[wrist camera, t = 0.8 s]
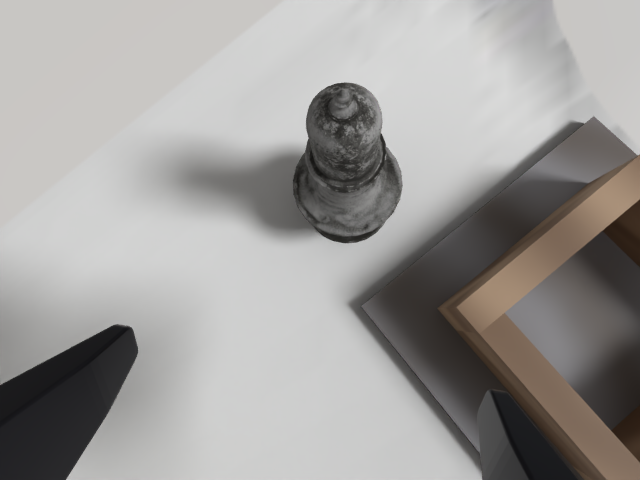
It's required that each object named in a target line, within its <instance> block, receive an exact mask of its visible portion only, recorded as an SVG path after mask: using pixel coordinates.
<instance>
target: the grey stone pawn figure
mask: <svg viewBox="0 0 640 480" xmlns="http://www.w3.org/2000/svg"><path fill="white" fill-rule="evenodd" d="M381 128H382V113H381V109H380V107H379V104H378V101H377V100H376V98H375V97H374V96H373V94H372V93H371V92H370V91H368V90H367V89H366V88H364V87H362V86H360V85H357V84H353V83H337V84H334V85H331V86H328V87H326V88H325V89H323V90H322V91H320V92H319V93H318V94H317V95H316V96H315V98H314V99H313V100H312V102H311V104H310V106H309V109H308V113H307V118H306V129H307V133H308V137H309V139H308V141H307V146H306V150H305V153H304V154H303V156H302V158H301V159H300V161H299V163H298V165H297V167H296V170H295V175H294V179H293V190H294V196H295V199H296V203H297V206H298V208H299V209H300V211H301V212H302V214H303V215H304V217H305V218H306V219H307V220H308V221H309V222H310V223H311V224H312V225H314V227H315V228H316V229H317V230H318V231H319V232H320V233H321V234H322V235H323V236H325V237H327V238H329V239H331V240H333V241H337V242H342V243H355V242H359V241H362V240H365V239H368V238H369V237H371V236H372V235H374V234H375V233H376V232H377V231H378V230H379V229H380V228H381V227H382V226H383V225H384V223H385V221H386V220H387V219H388V218H389V217H390V216H391V215H392V213H393V212H394V210H395V208H396V206H397V204H398V202H399V200H400V196H401V191H402V175H401V170H400V168H399V165H398V163H397V160H396V158H395V157H394V156H393V154H392V153H391V152H390V150H389V149H388V148H387V147H386V144H385V141H384V138H383V136H382V134H381Z"/></svg>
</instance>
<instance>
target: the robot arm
mask: <svg viewBox="0 0 640 480" xmlns="http://www.w3.org/2000/svg"><path fill="white" fill-rule="evenodd" d="M137 354H138V346H137V343H136V339H135V335H134V331H133V329H132V328H131V327H129V326H125V325H118V324H117V325H113V326H111V327H109V328H107V329H105V330H103V331H101V332H100V333H98V334H96V335H94V336H92V337H90V338H88V339H86V340H84V341H83V342H81V343H79V344H77V345H75V346H73V347H71V348H69V349H67V350H66V351H64V352H62V353H60V354H58V355H56V356H54V357H52V358H51V359H49V360H47V361H45V362H43V363H41V364H39V365H37V366H35V367H34V368H32V369H30V370H28V371H26V372H24V373H22V374H20V375H18V376H17V377H15V378H13V379H11V380H9V381H7V382H5V383H3V384H1V385H0V480H66V479H67V477H68V475H69V474H70V472H71V471H72V469H73V468H74V466H75V464H76V463H77V461H78V460H79V458H80V457H81V455H82V453H83V452H84V450H85V449H86V447H87V445H88V444H89V442H90V441H91V439H92V438H93V436H94V434H95V433H96V431H97V430H98V428H99V427H100V425H101V423H102V422H103V420H104V419H105V417H106V415H107V414H108V412H109V410H110V408H111V406H112V405H113V403H114V401H115V399H116V397H117V395H118V393H119V391H120V389H121V387H122V385H123V383H124V381H125V379H126V377H127V375H128V373H129V371H130V369H131V367H132V365H133V363H134V361H135V359H136V357H137ZM477 420H478V433H479V444H480V456H481V468H482V479H483V480H579V479H578V478H577V477H576V476H575V475H574V473H573V472H572V471H571V470H570V468H569V467H568V466H567V465H566V463H565V462H564V461H563V460H562V458H561V457H560V456H559V455H558V454H557V452H556V451H555V450H554V449H553V447H552V446H551V445H550V444H549V442H548V441H547V440H546V439H545V437H544V436H543V435H542V434H541V433H540V431H539V430H538V429H537V428H536V426H535V425H534V424H533V423H532V421H531V420H530V419H529V418H528V417H527V415H526V414H525V413H524V412H523V410H522V409H521V408H520V407H519V405H518V404H517V403H516V402H515V400H514V399H513V398H512V397H511V396H510V394H508V393H507V392H505V391H500V390H495V389H489V390H488V391H487V392H486V394H485V396H484V398H483V401H482V403H481V405H480V408H479V410H478V416H477Z"/></svg>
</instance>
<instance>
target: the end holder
mask: <svg viewBox="0 0 640 480" xmlns="http://www.w3.org/2000/svg"><path fill="white" fill-rule="evenodd" d="M361 307H362V308H363V310H364V311H365V312H366V313H367V315H368V316H369V317H370V318H371V320H372V321H373V322H374V323H375V324H376V326H377V327H378V328H379V329H380V331H381V332H382V333H383V334H384V336H385V337H386V338H387V339H388V341H389V342H390V343H391V344H392V346H393V347H394V348H395V349H396V351H397V352H398V353H399V354H400V355H401V357H402V358H403V359H404V360H405V362H406V363H407V364H408V365H409V367H410V368H411V369H412V370H413V372H414V373H415V374H416V375H417V377H418V378H419V379H420V380H421V381H422V383H423V384H424V385H425V386H426V388H427V389H428V390H429V391H430V393H431V394H432V395H433V396H434V398H435V399H436V400H437V401H438V403H439V404H440V405H441V406H442V408H443V409H444V410H445V411H446V412H447V414H448V415H449V416H450V417H451V419H452V420H453V421H454V422H455V424H456V425H457V426H458V427H459V429H460V430H461V431H462V432H463V434H464V435H465V436H466V437H467V439H468V440H469V441H470V442H471V443H472V445H473V446H474V447H475V448H476V450H477V451H478V452H479V453H480V444H479V433H478V420H477V416H478V410H479V408H480V405H481V403H482V401H483V398H484V396H485V394H486V392H487V391H488V390H489V389H495V390H500V391H505V392H507V393H508V394H510V396H511V397H512V398H513V399H514V400H515V402H516V403H517V404H518V405H519V407H520V408H521V409H522V410H523V412H524V413H525V414H526V415H527V417H528V418H529V419H530V420H531V421H532V423H533V424H534V425H535V426H536V428H537V429H538V430H539V431H540V433H541V434H542V435H543V436H544V437H545V439H546V440H547V441H548V442H549V444H550V445H551V446H552V447H553V449H554V450H555V451H556V452H557V454H558V455H559V456H560V457H561V458H562V460H563V461H564V462H565V463H566V465H567V466H568V467H569V468H570V470H571V471H572V472H573V473H574V475H575V476H576V477H577V478H578V479H579V480H640V155H636V154H635V153H634V152H633V151H632V150H631V149H630V148H629V147H627V146H626V145H625V144H624V143H623V142H622V141H621V140H620V139H619V138H617V137H616V136H615V135H614V134H613V133H612V132H611V131H610V130H609V129H607V128H606V127H605V126H604V125H603V124H602V123H601V122H600V121H598V120H597V119H596V118H595V117H592V118H591V119H590V120H589V121H587V122H586V123H585V124H584V125H583V126H581V127H580V128H579V129H578V130H576V131H575V132H574V133H573V134H572V135H570V136H569V137H568V138H567V139H565V140H564V141H563V142H562V143H561V144H559V145H558V146H557V147H556V148H554V149H553V150H552V151H551V152H549V153H548V154H547V155H546V156H545V157H543V158H542V159H541V160H540V161H538V162H537V163H536V164H535V165H534V166H532V167H531V168H530V169H529V170H527V171H526V172H525V173H524V174H523V175H521V176H520V177H519V178H518V179H516V180H515V181H514V182H513V183H511V184H510V185H509V186H508V187H507V188H505V189H504V190H503V191H502V192H500V193H499V194H498V195H497V196H496V197H494V198H493V199H492V200H491V201H489V202H488V203H487V204H486V205H485V206H483V207H482V208H481V209H480V210H478V211H477V212H476V213H475V214H473V215H472V216H471V217H470V218H469V219H467V220H466V221H465V222H464V223H462V224H461V225H460V226H459V227H458V228H456V229H455V230H454V231H453V232H451V233H450V234H449V235H448V236H447V237H445V238H444V239H443V240H442V241H440V242H439V243H438V244H437V245H435V246H434V247H433V248H432V249H431V250H429V251H428V252H427V253H426V254H424V255H423V256H422V257H421V258H420V259H418V260H417V261H416V262H415V263H413V264H412V265H411V266H410V267H409V268H407V269H406V270H405V271H404V272H402V273H401V274H400V275H399V276H397V277H396V278H395V279H394V280H393V281H391V282H390V283H389V284H388V285H386V286H385V287H384V288H383V289H382V290H380V291H379V292H378V293H377V294H375V295H374V296H373V297H372V298H371V299H369V300H368V301H367V302H366V303H364V304H363V305H362V306H361Z"/></svg>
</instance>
